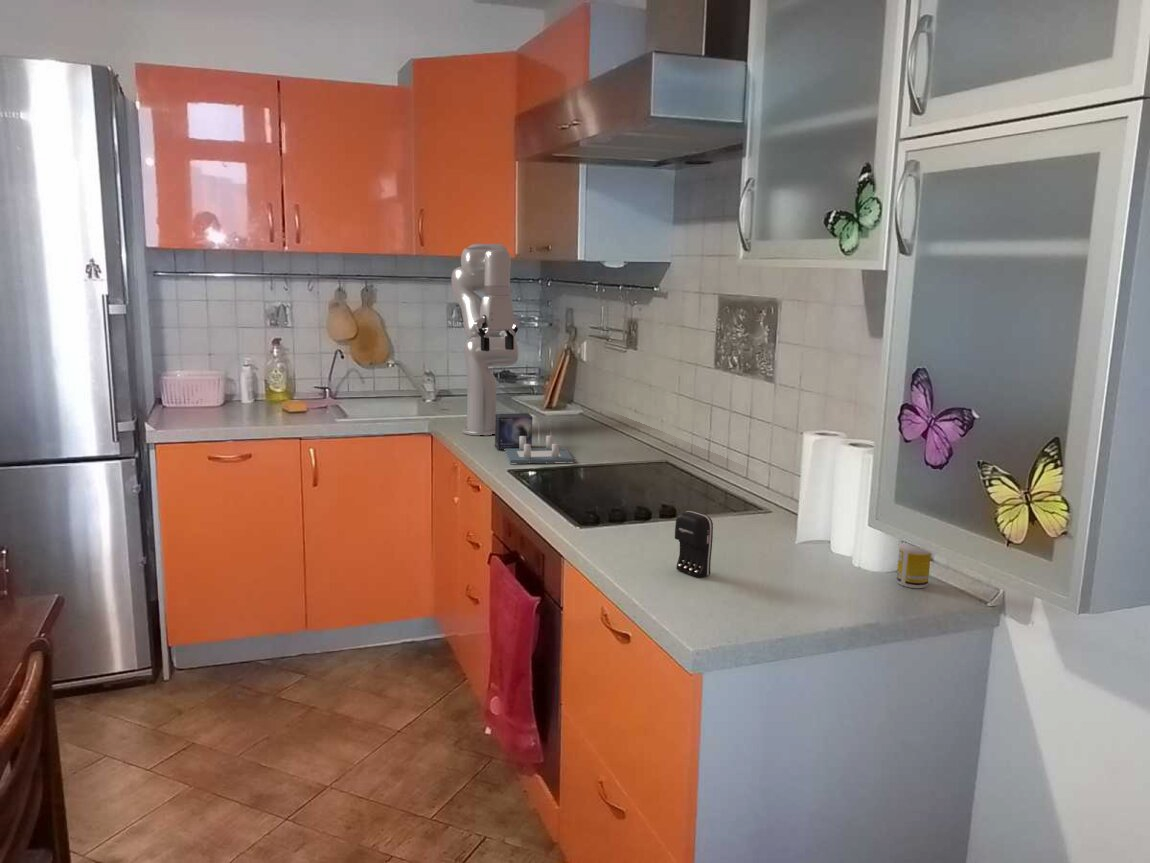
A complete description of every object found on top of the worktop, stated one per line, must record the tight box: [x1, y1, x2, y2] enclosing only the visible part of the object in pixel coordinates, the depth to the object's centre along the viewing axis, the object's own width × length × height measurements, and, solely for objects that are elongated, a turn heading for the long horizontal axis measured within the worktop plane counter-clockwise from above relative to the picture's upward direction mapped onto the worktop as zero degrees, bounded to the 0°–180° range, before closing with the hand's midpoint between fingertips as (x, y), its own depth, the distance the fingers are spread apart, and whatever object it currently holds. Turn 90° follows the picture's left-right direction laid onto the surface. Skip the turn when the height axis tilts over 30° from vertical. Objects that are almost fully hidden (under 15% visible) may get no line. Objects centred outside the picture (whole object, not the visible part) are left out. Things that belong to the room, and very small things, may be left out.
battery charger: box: [674, 510, 714, 578], centre depth 168 cm, size 7×4×11 cm, turn 40°
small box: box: [494, 412, 533, 451], centre depth 276 cm, size 11×6×10 cm, turn 105°
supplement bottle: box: [896, 541, 932, 590], centre depth 165 cm, size 5×5×10 cm
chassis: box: [504, 435, 574, 464], centre depth 264 cm, size 16×18×5 cm
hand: (497, 350), depth 271 cm, fingers open, 9 cm apart
